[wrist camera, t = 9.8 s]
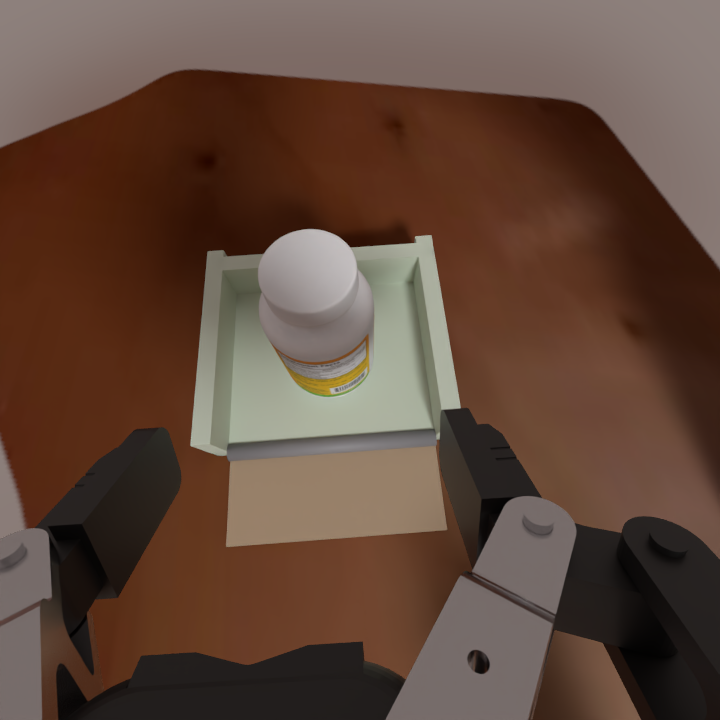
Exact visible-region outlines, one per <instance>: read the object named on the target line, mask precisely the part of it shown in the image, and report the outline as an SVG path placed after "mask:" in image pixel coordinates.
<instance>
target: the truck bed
mask: <svg viewBox="0 0 720 720" xmlns="http://www.w3.org/2000/svg"><path fill="white" fill-rule="evenodd" d="M351 250H352V251H353V253H354V256H355V259H356V262H357V269H358V270H359V271H360V272H361V273H362V274H363V275H364V277H365V278H366V280H367V282H368V283H369V286H370V288H371V291H372V295H373V300H374V358H373V365H372V369H371V371H370V373H369V375H368V377H367V379H366V380H365V381H364V383H363V384H362V385H361V386H360V387H359V388H357V389H356V390H355V391H353V392H351V393H349V394H347V395H345V396H341V397H337V398H321V397H317V396H314V395H311V394H309V393H307V392H306V391H304V390H303V389H301V388H300V387H299V386H298V385H297V384H296V383H295V381H294V380H293V379H292V377H291V376H290V374H289V373H288V371H287V369H286V368H285V366H284V364H283V363H282V361H281V359H280V358H279V356H278V354H277V353H276V351H275V349H274V348H273V346H272V344H271V343H270V341H269V339H268V338H267V336H266V334H265V332H264V330H263V328H262V325H261V322H260V318H259V300H260V296H261V293H262V291H261V289H260V286H259V282H258V268H259V264H260V261H261V258H262V256H263V255H264V254H256V255H242V256H228V257H227V255H226V254H225V252H224V250H219V251H208V252H207V263H206V275H205V286H204V297H203V309H202V320H201V331H200V343H199V354H198V365H197V377H196V388H195V399H194V411H193V422H192V434H191V445H190V446H192V447H195V448H198V449H201V450H204V451H206V452H209V453H212V454H215V455H218V456H225V455H227V458H228V461H230V481H229V501H228V521H227V541H226V547H232V546H245V545H258V544H271V543H284V542H297V541H310V540H323V539H336V538H349V537H362V536H375V535H388V534H402V533H415V532H428V531H441V530H447V525H446V518H445V511H444V504H443V497H442V489H441V482H440V475H439V468H438V461H437V454H436V447H435V446H436V444H437V440H438V439H440V414H441V410H443V409H458V408H461V407H460V401H459V395H458V389H457V384H456V378H455V372H454V366H453V360H452V354H451V348H450V342H449V336H448V331H447V325H446V319H445V313H444V307H443V301H442V295H441V289H440V284H439V278H438V272H437V266H436V260H435V254H434V248H433V242H432V236H431V235H429V236H415V242H414V243H409V244H395V245H381V246H367V247H353V248H351Z"/></svg>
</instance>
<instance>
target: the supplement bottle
mask: <svg viewBox="0 0 720 720" xmlns="http://www.w3.org/2000/svg"><path fill="white" fill-rule="evenodd" d="M258 282H259V286H260V289H261V291H262V293H261V296H260V300H259V318H260V322H261V325H262V328H263V330H264V332H265V334H266V336H267V338H268V339H269V341H270V343H271V344H272V346H273V348H274V349H275V351H276V353H277V354H278V356H279V358H280V359H281V361H282V363H283V364H284V366H285V368H286V369H287V371H288V373H289V374H290V376H291V377H292V379H293V380H294V381H295V383H296V384H297V385H298V386H299V387H300V388H301V389H303V390H304V391H306V392H307V393H309V394H311V395H314V396H317V397H321V398H337V397H341V396H345V395H347V394H349V393H351V392H353V391H355V390H356V389H357V388H359V387H360V386H361V385H362V384H363V383H364V381H365V380H366V379H367V377H368V375H369V373H370V371H371V369H372V365H373V358H374V300H373V295H372V291H371V288H370V286H369V283H368V282H367V280H366V278H365V277H364V275H363V274H362V273H361V272H360V271H359V270H358V269H357V262H356V259H355V256H354V253H353V251H352V250H351V248H350V247H349V246H348V244H347V243H346V242H345V241H343V240H342V239H341V238H340V237H338V236H336V235H334V234H332V233H330V232H327V231H323V230H317V229H304V230H298V231H294V232H291V233H289V234H286V235H284V236H282V237H281V238H279V239H278V240H276V241H275V242H274V243H273V244H272V245H271V246H270V247H269V248H268V249H267V250H266V251H265V253H264V255H263V256H262V258H261V261H260V264H259V268H258Z"/></svg>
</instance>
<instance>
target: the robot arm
mask: <svg viewBox="0 0 720 720" xmlns="http://www.w3.org/2000/svg"><path fill="white" fill-rule="evenodd" d="M439 457H440V467H441V472H442V476H443V479H444V482H445V485H446V488H447V491H448V494H449V498H450V501H451V504H452V507H453V510H454V513H455V516H456V519H457V522H458V525H459V529H460V532H461V535H462V538H463V541H464V544H465V547H466V550H467V553H468V556H469V560H470V563H471V566H472V569H473V570H472V572H471V573H469V572H467V571H464V572H463V573H462V574H461V576H460V577H459V579H458V580H457V582H456V584H455V586H454V588H453V590H452V592H451V594H450V596H449V598H448V600H447V602H446V604H445V605H444V607H443V609H442V611H441V613H440V615H439V617H438V619H437V621H436V623H435V625H434V627H433V629H432V631H431V633H430V635H429V636H428V638H427V640H426V642H425V644H424V646H423V648H422V650H421V652H420V654H419V656H418V658H417V660H416V662H415V664H414V666H413V667H412V669H411V671H410V673H409V675H408V677H407V679H406V680H405V679H404V678H403V677H402V676H400V675H398V674H396V673H395V672H393V671H391V670H390V669H387V668H385V667H383V666H380V665H378V664H375V663H371V662H367V661H364V651H363V642H351V643H335V644H319V645H307V646H304V647H302V648H299V649H296V650H293V651H290V652H287V653H284V654H281V655H278V656H275V657H273V658H270V659H267V660H264V661H261V662H258V663H255V664H251V665H243V664H239V663H235V662H231V661H227V660H223V659H219V658H215V657H211V656H207V655H204V654H200V653H196V652H195V653H179V654H163V655H148V656H141V658H140V660H139V662H138V664H137V667H136V669H135V671H134V673H133V676H132V678H131V679H128V680H126V681H124V682H121V683H119V684H117V685H115V686H113V687H111V688H109V689H107V690H106V691H104V687H103V682H102V676H101V669H100V663H99V656H98V649H97V643H96V636H95V629H94V622H93V617H92V615H91V613H90V611H89V609H90V607H91V605H92V604H93V602H94V600H95V599H108V598H118V596H119V595H120V593H121V591H122V589H123V588H124V586H125V584H126V582H127V581H128V579H129V577H130V575H131V574H132V572H133V570H134V568H135V567H136V565H137V563H138V561H139V560H140V558H141V556H142V554H143V552H144V551H145V549H146V547H147V545H148V544H149V542H150V540H151V538H152V537H153V535H154V533H155V531H156V530H157V528H158V526H159V524H160V523H161V521H162V519H163V517H164V516H165V514H166V512H167V510H168V509H169V507H170V505H171V503H172V502H173V500H174V498H175V496H176V495H177V493H178V491H179V488H180V484H181V470H180V467H179V464H178V461H177V457H176V454H175V451H174V448H173V445H172V442H171V438H170V435H169V433H168V431H167V430H166V429H165V428H148V429H136V430H134V431H133V432H132V433H131V434H130V435H129V436H128V437H127V438H126V440H125V441H124V442H123V443H122V444H121V445H120V446H119V447H118V448H115V449H114V450H112V451H111V452H109V453H108V454H106V455H105V456H103V457H102V458H100V459H99V460H98V461H97V462H96V463H95V464H94V465H93V466H92V467H91V468H90V469H89V470H88V472H87V473H86V476H83V477H82V478H81V479H80V480H79V481H78V482H77V483H76V484H75V488H72V489H71V490H70V491H69V492H68V493H67V494H66V495H65V496H64V497H63V498H62V499H61V500H60V502H59V503H58V504H57V505H56V506H55V507H54V508H53V509H52V510H51V511H50V512H49V513H48V514H47V515H46V517H45V518H44V519H43V520H42V521H41V522H40V523H39V524H38V525H37V526H36V527H35V528H32V529H26V530H21V531H18V532H15V533H13V534H10V535H8V536H6V537H4V538H1V539H0V720H532V719H533V715H534V711H535V707H536V703H537V699H538V695H539V691H540V687H541V683H542V679H543V675H544V671H545V667H546V663H547V659H548V655H549V651H550V647H551V643H552V639H553V635H554V631H555V630H558V631H561V632H565V633H569V634H573V635H576V636H580V637H584V638H587V639H591V640H595V641H599V642H602V643H603V644H604V646H605V648H606V650H607V652H608V654H609V656H610V658H611V660H612V662H613V664H614V666H615V668H616V670H617V672H618V674H619V676H620V678H621V680H622V682H623V684H624V686H625V688H626V690H627V692H628V694H629V696H630V698H631V700H632V702H633V704H634V706H635V708H636V710H637V712H638V714H639V716H640V718H641V720H720V559H719V558H718V557H717V556H716V555H715V554H714V553H713V552H712V551H711V550H710V549H709V548H708V546H707V545H706V544H705V543H704V542H703V541H702V540H700V539H699V538H698V537H697V536H695V535H694V534H693V533H691V532H690V531H688V530H686V529H685V528H683V527H681V526H679V525H677V524H675V523H672V522H670V521H667V520H664V519H660V518H655V517H646V516H642V517H635V518H632V519H630V520H628V521H627V522H626V523H625V524H624V526H623V529H622V533H618V532H613V531H607V530H602V529H597V528H591V527H587V526H583V525H579V524H576V523H574V521H573V520H572V518H571V517H570V516H569V514H568V513H567V512H566V511H565V510H563V509H562V508H561V507H559V506H558V505H556V504H554V503H553V502H550V501H548V500H546V499H542V497H541V496H540V494H539V492H538V491H537V489H536V488H535V486H534V484H533V483H532V481H531V479H530V478H529V476H528V475H527V473H526V471H525V470H524V468H523V467H522V465H521V463H520V462H519V460H517V458H516V455H515V454H514V452H513V451H512V449H510V446H509V444H508V443H507V441H506V439H505V438H504V436H503V434H501V433H500V432H499V431H497V430H496V429H495V428H493V427H492V426H490V425H489V424H479V425H477V423H476V421H475V419H474V418H473V416H472V414H471V412H470V410H469V409H468V408H458V409H443V410H441V414H440V448H439Z"/></svg>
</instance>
